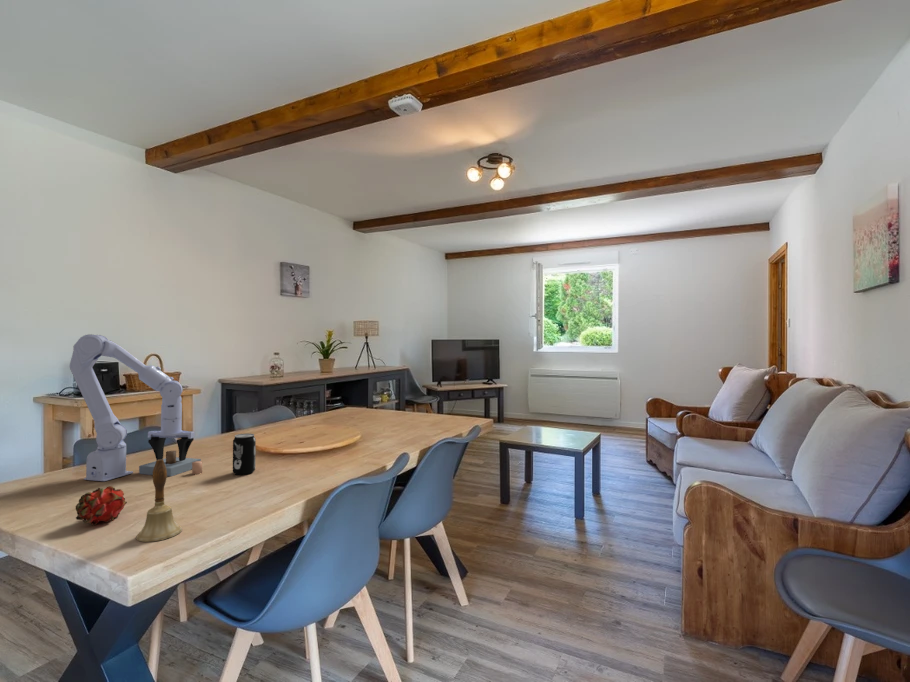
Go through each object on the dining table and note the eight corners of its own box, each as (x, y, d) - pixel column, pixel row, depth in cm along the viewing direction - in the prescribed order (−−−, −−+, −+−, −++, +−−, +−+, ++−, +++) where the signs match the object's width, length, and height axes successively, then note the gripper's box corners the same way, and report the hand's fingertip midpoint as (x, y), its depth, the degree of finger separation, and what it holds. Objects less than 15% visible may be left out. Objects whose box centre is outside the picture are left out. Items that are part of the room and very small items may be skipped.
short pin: (197, 474, 142) (197, 463, 142) (189, 474, 143) (190, 463, 143) (204, 472, 145) (204, 461, 145) (196, 471, 145) (197, 460, 146)
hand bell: (125, 540, 94) (126, 463, 94) (158, 525, 102) (158, 454, 103) (161, 543, 93) (162, 465, 93) (190, 527, 101) (191, 456, 101)
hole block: (170, 476, 140) (171, 468, 140) (139, 473, 143) (139, 465, 143) (200, 466, 152) (200, 458, 152) (170, 464, 154) (170, 456, 154)
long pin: (170, 471, 146) (171, 452, 146) (163, 470, 146) (163, 452, 146) (178, 469, 148) (178, 450, 148) (170, 468, 149) (171, 450, 149)
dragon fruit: (72, 540, 98) (117, 526, 110) (106, 516, 98) (146, 505, 110) (55, 506, 99) (101, 496, 111) (88, 483, 100) (130, 475, 112)
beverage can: (227, 474, 142) (228, 436, 142) (242, 469, 149) (242, 432, 149) (245, 476, 141) (246, 437, 141) (259, 470, 147) (260, 433, 147)
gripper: (200, 416, 151) (200, 457, 151) (158, 416, 152) (158, 456, 152) (187, 420, 144) (186, 462, 144) (143, 419, 145) (142, 462, 145)
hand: (171, 460), depth 147 cm, fingers open, 7 cm apart
